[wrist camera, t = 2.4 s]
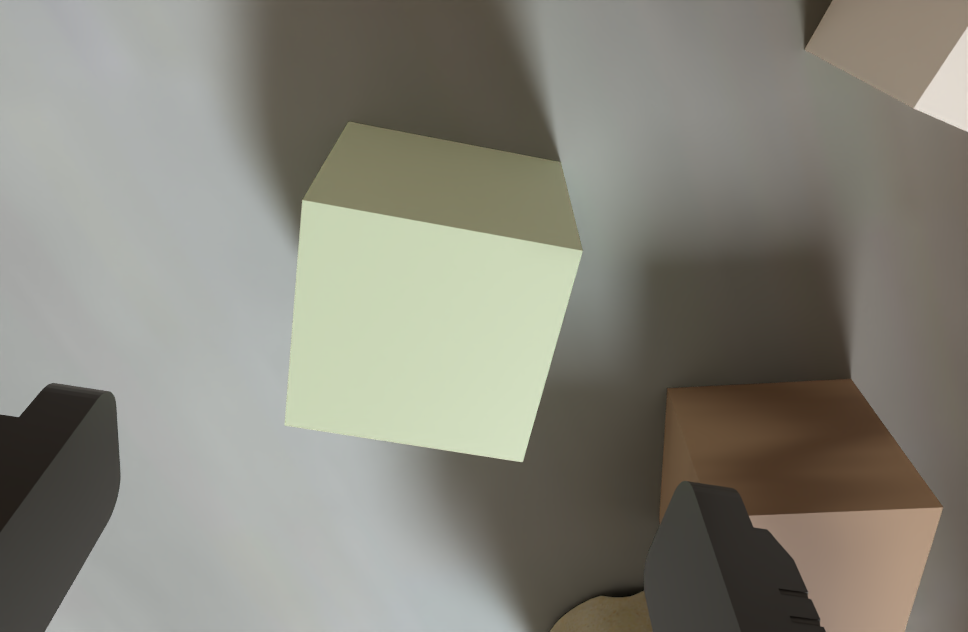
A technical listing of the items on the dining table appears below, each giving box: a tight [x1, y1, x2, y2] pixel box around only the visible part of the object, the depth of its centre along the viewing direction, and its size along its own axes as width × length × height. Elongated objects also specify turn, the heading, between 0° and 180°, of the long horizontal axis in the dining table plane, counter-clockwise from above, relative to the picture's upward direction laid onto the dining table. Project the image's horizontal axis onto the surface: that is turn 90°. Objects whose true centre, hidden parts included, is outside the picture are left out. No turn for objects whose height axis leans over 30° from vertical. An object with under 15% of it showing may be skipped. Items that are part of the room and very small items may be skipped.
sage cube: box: [285, 121, 583, 462], centre depth 17 cm, size 5×5×5 cm
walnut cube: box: [659, 379, 943, 632], centre depth 20 cm, size 5×5×5 cm
